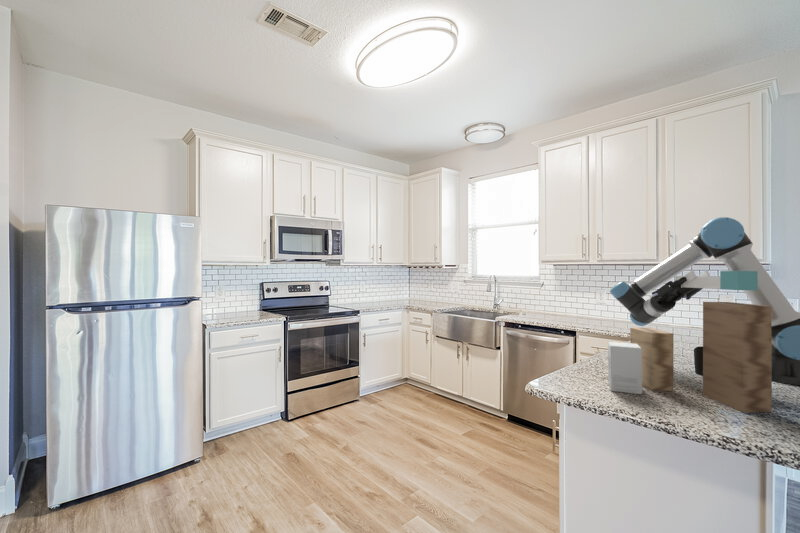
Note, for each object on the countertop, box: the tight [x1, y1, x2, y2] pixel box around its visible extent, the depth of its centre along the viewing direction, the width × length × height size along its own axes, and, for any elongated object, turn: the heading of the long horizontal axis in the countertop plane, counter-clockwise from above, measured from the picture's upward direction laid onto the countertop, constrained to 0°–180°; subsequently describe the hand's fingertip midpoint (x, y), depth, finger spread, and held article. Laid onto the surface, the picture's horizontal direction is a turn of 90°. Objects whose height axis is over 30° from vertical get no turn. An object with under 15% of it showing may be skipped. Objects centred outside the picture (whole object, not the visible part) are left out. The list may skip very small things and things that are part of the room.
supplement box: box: [607, 341, 643, 395], centre depth 123 cm, size 9×9×15 cm
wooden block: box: [629, 327, 674, 392], centre depth 128 cm, size 7×12×19 cm, turn 178°
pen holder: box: [693, 345, 703, 376], centre depth 142 cm, size 9×9×10 cm
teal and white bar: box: [674, 270, 758, 291], centre depth 120 cm, size 26×6×6 cm, turn 179°
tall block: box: [702, 301, 773, 413], centre depth 111 cm, size 8×14×30 cm, turn 178°
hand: (701, 274), depth 124 cm, fingers closed on teal and white bar, 4 cm apart
